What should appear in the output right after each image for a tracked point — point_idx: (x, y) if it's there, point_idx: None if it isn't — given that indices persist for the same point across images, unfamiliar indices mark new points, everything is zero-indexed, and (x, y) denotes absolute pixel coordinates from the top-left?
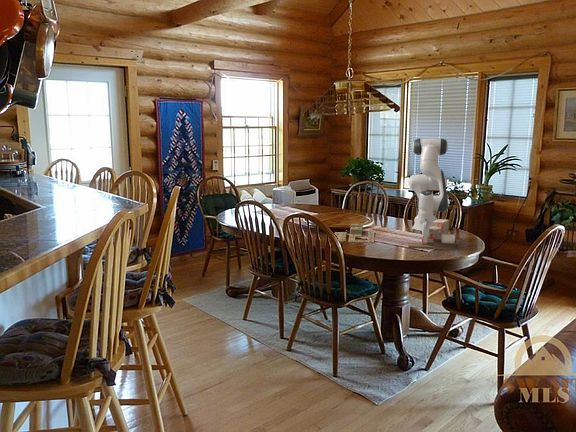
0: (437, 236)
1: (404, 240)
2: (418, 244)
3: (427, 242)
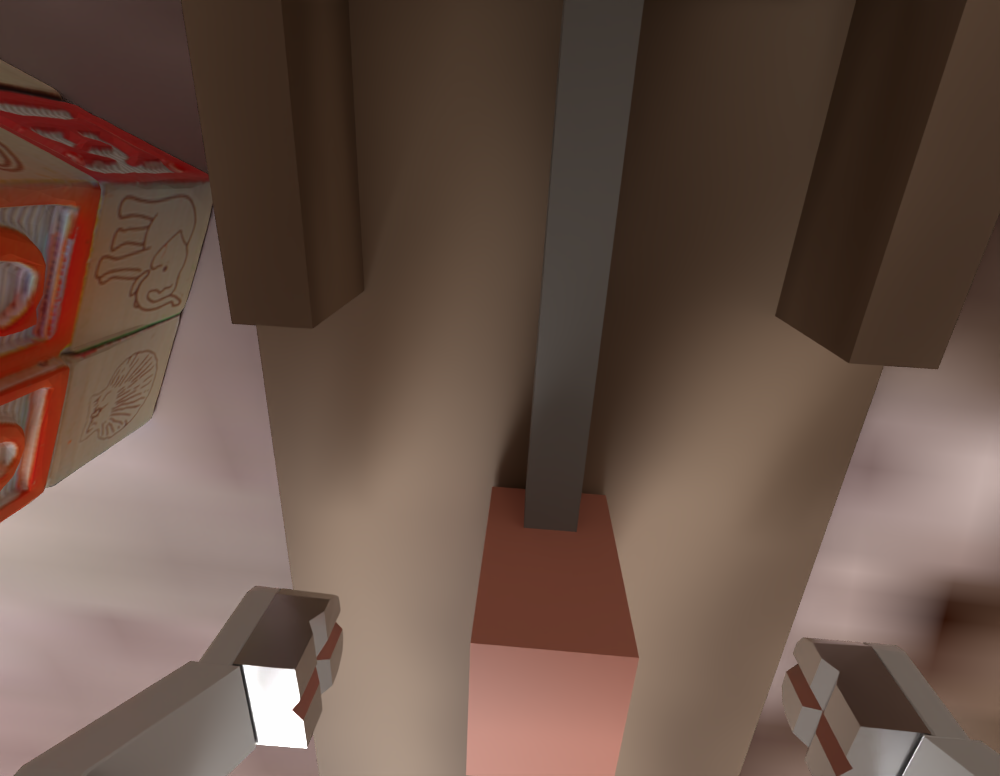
0: None
1: None
2: None
3: (563, 518)
